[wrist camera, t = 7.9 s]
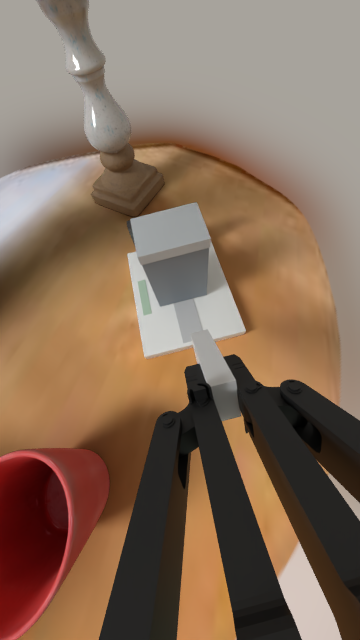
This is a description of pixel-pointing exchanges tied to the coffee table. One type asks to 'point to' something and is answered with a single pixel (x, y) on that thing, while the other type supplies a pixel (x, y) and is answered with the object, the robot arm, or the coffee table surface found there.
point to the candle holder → (102, 114)
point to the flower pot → (44, 526)
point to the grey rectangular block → (173, 252)
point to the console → (183, 311)
